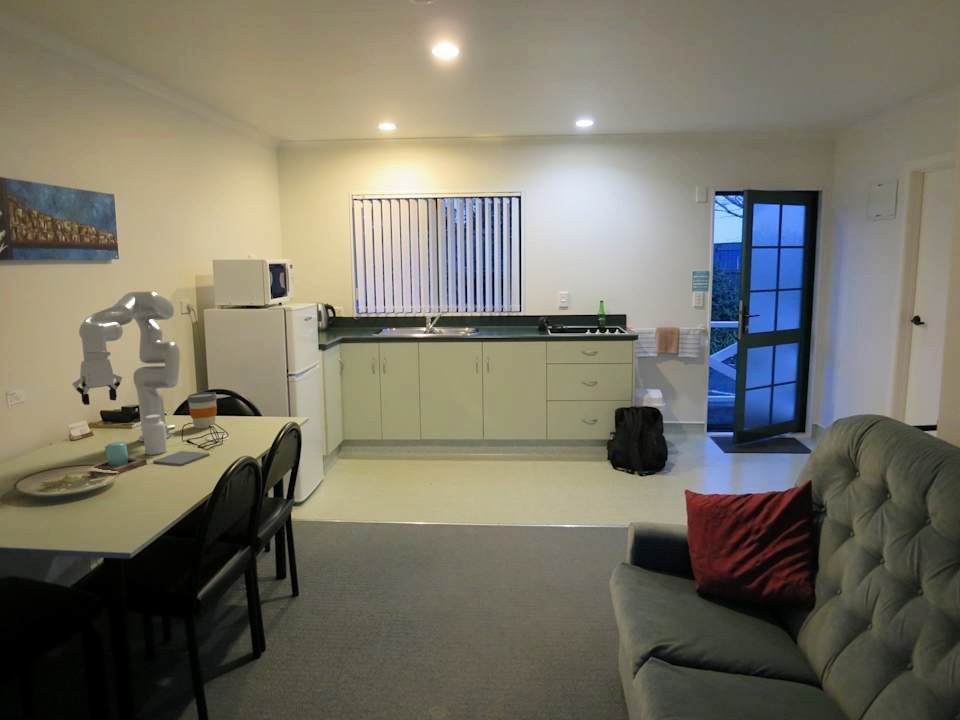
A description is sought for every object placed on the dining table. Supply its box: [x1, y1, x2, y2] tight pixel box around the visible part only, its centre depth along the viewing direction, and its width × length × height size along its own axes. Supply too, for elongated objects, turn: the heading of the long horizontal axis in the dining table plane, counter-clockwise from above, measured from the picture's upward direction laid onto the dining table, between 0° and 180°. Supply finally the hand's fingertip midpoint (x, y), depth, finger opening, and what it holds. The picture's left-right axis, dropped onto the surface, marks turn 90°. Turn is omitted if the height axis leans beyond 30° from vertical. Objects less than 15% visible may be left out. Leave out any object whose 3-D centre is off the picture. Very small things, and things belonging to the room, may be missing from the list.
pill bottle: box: [143, 415, 168, 456], centre depth 258 cm, size 8×8×15 cm
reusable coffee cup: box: [187, 391, 218, 429], centre depth 301 cm, size 13×13×15 cm
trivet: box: [152, 450, 210, 467], centre depth 248 cm, size 14×14×1 cm
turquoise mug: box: [104, 441, 129, 467], centre depth 239 cm, size 8×6×9 cm
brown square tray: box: [93, 456, 148, 474], centre depth 239 cm, size 13×13×2 cm
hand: (100, 402), depth 240 cm, fingers open, 9 cm apart
